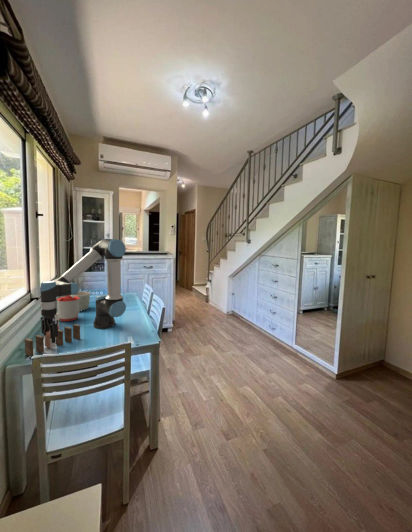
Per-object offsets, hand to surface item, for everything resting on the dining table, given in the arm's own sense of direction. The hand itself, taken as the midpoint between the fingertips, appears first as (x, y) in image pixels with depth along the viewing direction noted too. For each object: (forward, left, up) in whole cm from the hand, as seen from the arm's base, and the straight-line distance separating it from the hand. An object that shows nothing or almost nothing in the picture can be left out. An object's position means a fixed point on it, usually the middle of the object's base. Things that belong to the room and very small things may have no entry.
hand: (50, 346), depth 143 cm
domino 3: (0, 0, 0) cm, 0 cm away
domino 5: (-8, -8, -1) cm, 11 cm away
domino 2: (+4, +4, -1) cm, 6 cm away
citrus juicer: (+2, -53, -1) cm, 53 cm away
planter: (-1, -77, -1) cm, 77 cm away
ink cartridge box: (+8, -32, -1) cm, 33 cm away
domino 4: (-4, -4, -1) cm, 6 cm away
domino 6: (-12, -12, -1) cm, 17 cm away
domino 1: (+8, +8, -1) cm, 11 cm away
